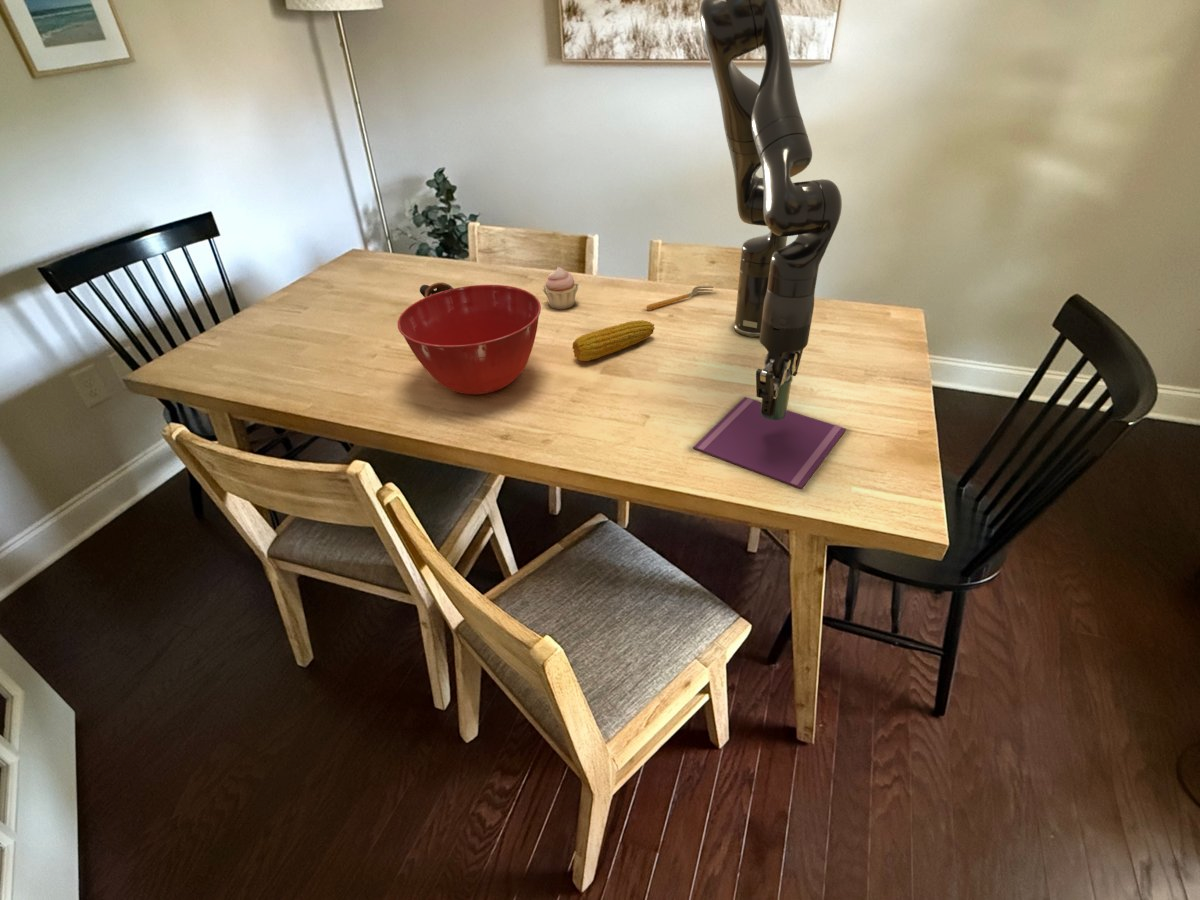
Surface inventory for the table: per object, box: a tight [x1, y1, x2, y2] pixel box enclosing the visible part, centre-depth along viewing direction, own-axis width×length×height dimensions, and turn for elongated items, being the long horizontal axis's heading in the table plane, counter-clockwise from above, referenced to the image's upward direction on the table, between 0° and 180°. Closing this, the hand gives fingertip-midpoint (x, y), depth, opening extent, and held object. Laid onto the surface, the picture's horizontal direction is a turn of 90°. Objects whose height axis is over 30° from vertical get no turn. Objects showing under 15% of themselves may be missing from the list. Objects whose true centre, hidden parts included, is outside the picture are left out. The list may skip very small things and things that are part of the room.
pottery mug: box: [419, 282, 454, 298], centre depth 165 cm, size 12×10×8 cm
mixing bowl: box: [397, 284, 542, 396], centre depth 132 cm, size 28×28×15 cm
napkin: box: [692, 396, 847, 490], centre depth 114 cm, size 20×20×1 cm
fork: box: [645, 285, 714, 311], centre depth 164 cm, size 2×2×20 cm
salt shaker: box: [760, 371, 793, 420], centre depth 109 cm, size 4×4×8 cm
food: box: [572, 319, 656, 362], centre depth 143 cm, size 21×6×6 cm, turn 126°
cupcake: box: [542, 266, 579, 310], centre depth 163 cm, size 9×9×10 cm
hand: (773, 407), depth 110 cm, fingers closed on salt shaker, 4 cm apart
